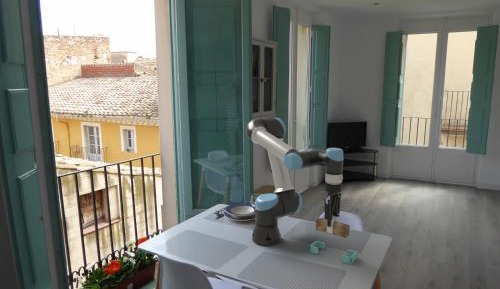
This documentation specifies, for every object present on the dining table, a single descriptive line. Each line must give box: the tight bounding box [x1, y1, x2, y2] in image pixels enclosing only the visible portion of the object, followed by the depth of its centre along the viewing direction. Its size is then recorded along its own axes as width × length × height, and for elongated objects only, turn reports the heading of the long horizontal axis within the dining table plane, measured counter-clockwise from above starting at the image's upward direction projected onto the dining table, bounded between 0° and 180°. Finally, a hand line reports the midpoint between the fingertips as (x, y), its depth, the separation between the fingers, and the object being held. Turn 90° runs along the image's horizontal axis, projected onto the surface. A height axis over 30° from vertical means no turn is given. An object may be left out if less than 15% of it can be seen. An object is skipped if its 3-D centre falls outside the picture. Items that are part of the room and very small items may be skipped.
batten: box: [315, 217, 351, 239], centre depth 163 cm, size 15×4×5 cm, turn 52°
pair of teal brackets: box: [308, 240, 358, 265], centre depth 167 cm, size 21×8×3 cm, turn 54°
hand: (331, 231), depth 164 cm, fingers closed on batten, 3 cm apart
